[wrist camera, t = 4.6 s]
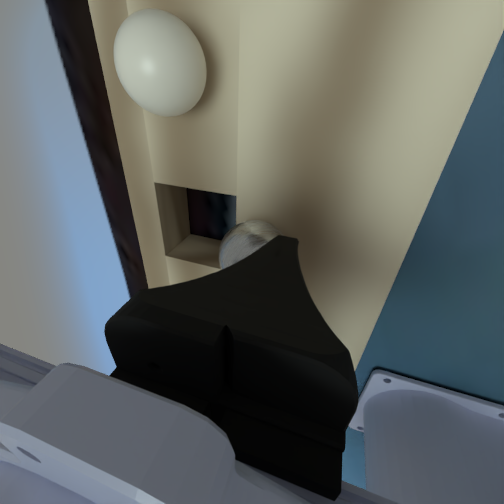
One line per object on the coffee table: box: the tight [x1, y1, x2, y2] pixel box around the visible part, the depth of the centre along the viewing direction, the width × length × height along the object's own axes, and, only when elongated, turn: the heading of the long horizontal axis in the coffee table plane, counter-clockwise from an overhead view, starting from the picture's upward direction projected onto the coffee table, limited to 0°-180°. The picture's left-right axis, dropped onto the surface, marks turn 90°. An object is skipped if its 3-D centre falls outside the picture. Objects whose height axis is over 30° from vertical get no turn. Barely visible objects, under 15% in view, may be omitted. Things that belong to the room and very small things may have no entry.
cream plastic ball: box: [113, 9, 207, 117], centre depth 9 cm, size 3×3×3 cm
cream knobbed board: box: [88, 0, 504, 371], centre depth 14 cm, size 14×22×3 cm, turn 177°
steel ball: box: [219, 220, 284, 270], centre depth 12 cm, size 3×3×3 cm
